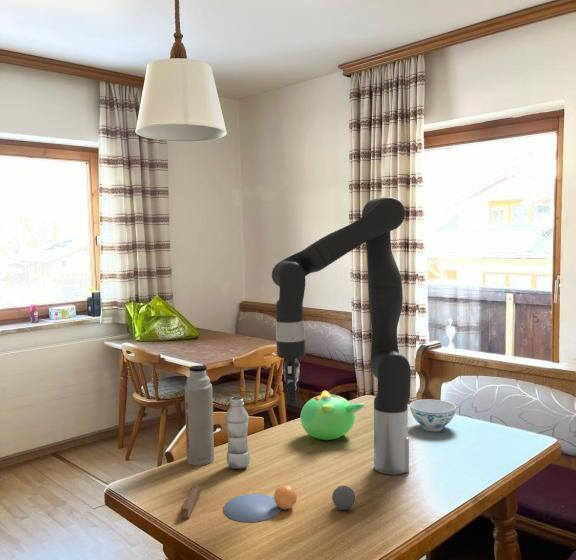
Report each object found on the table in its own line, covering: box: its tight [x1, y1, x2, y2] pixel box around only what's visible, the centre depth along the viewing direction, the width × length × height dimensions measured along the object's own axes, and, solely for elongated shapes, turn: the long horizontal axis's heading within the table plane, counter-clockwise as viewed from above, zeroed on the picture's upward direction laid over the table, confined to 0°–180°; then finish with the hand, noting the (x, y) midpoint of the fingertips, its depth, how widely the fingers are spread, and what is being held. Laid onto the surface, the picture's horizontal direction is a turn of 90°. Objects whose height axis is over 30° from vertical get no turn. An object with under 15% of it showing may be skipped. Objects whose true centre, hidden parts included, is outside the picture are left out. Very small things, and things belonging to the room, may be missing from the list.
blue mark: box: [223, 493, 282, 523], centre depth 137 cm, size 14×14×1 cm
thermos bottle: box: [184, 364, 215, 466], centre depth 166 cm, size 8×8×28 cm
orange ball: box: [273, 484, 298, 510], centre depth 136 cm, size 6×6×6 cm
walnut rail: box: [181, 485, 201, 520], centre depth 138 cm, size 2×12×2 cm, turn 177°
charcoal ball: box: [331, 485, 356, 511], centre depth 136 cm, size 6×6×6 cm
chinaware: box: [409, 398, 457, 432], centre depth 191 cm, size 15×15×8 cm
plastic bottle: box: [225, 396, 251, 470], centre depth 161 cm, size 6×7×20 cm
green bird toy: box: [299, 390, 365, 441], centre depth 183 cm, size 18×17×15 cm
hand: (293, 399), depth 148 cm, fingers open, 8 cm apart
